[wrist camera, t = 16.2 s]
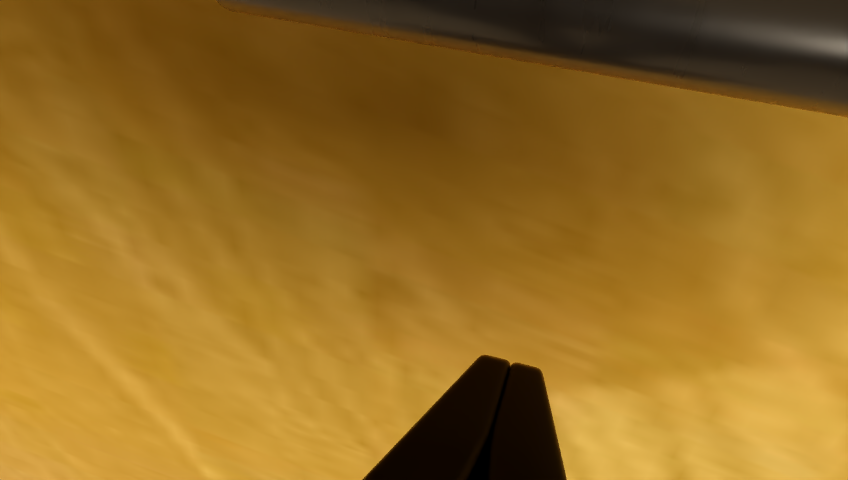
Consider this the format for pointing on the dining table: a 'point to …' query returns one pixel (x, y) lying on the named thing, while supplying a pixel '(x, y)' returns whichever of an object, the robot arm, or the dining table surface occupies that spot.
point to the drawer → (623, 39)
